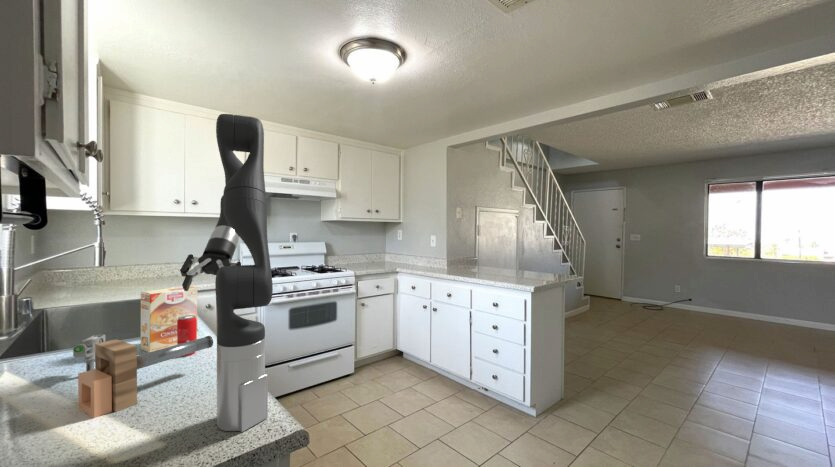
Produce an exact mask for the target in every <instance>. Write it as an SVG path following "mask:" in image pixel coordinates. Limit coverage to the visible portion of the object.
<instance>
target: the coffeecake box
mask: <svg viewBox="0 0 835 467" xmlns="http://www.w3.org/2000/svg"><path fill="white" fill-rule="evenodd" d="M187 315H194V316H196V319H197V320H198V287H196V286H191V285H190V287H189V289H188V291H184V289H183V286H175V287H169V288H168V287H167V288H160V289H153V290H146V291H140V350H142V351H145V352H146V353H149V352H152V351H156V350H160V349H163V348H167V347H171V346H174V345H177V320H178V318H179V317H182V316H187Z"/></svg>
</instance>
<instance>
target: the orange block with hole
mask: <svg viewBox="0 0 835 467" xmlns="http://www.w3.org/2000/svg"><path fill="white" fill-rule="evenodd" d="M77 378H78V379H77V380H78V382H77V385H78V386H77V388H78V389H77V390H78V392H77V393H78V396H77V397H78V399H77V400H78V404H77V405H78V410H80V411H82V412H83V413H85V414H86V415H88V416H90V417H92V418H93V419H96V418H99V417H101V416H105V415H107V414H109V413H112V412H113V410H112V376H110V375H108V374H105V373H103V372H101V371H99V370H96V369H95V368H94V370H90V371H87V372H86V371H84V372H80V373H78V374H77ZM98 416H99V417H98Z"/></svg>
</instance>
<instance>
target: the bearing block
mask: <svg viewBox="0 0 835 467" xmlns="http://www.w3.org/2000/svg"><path fill="white" fill-rule="evenodd" d="M137 352H138V346H137V345H135V344H132V343H129V342H126V341H124V340H120V339H118V338H117V339H116V338H115V339H111V340H105V342H101V343H97V344H95V359H94V369H96V370H99V371H101V372H103V373H105V374H108V375H110V376H112V412H115V413H117V412H119V411H122V410H125V409H127V408H130V407H133V406H135V405H138V369H137V356H138V355H137V354H138V353H137Z"/></svg>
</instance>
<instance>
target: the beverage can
mask: <svg viewBox="0 0 835 467" xmlns="http://www.w3.org/2000/svg"><path fill="white" fill-rule="evenodd" d="M196 339H198V318H197V319H196V316H194V315H187V316H182V317H179V318H178V320H177V345H178V344H182V343H185V342H189V341H193V340H196ZM195 354H196V352H193V353H190V354H186V355H183V356H182V357H189V356H193V355H195Z"/></svg>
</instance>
